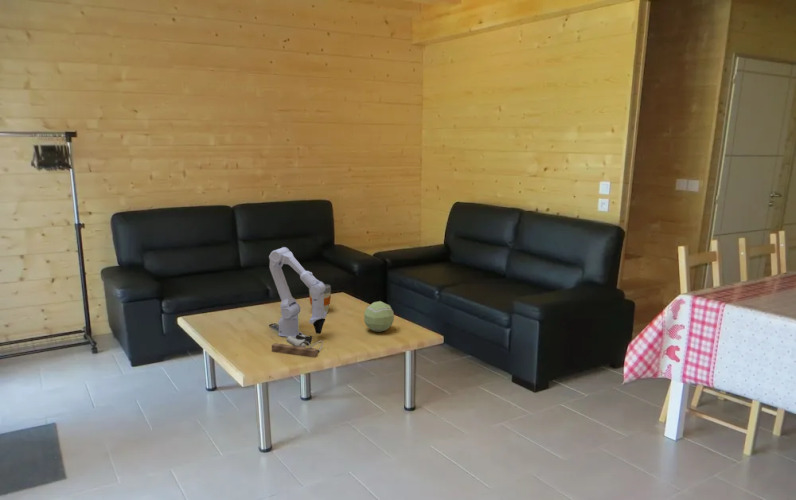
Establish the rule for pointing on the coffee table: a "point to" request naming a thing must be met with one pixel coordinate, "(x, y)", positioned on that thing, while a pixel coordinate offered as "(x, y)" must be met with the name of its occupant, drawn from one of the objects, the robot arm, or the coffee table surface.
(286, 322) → the robot arm
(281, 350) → the bar
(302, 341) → the clip-on lamp
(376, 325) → the decorative sphere
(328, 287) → the reusable coffee cup
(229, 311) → the coffee table surface
